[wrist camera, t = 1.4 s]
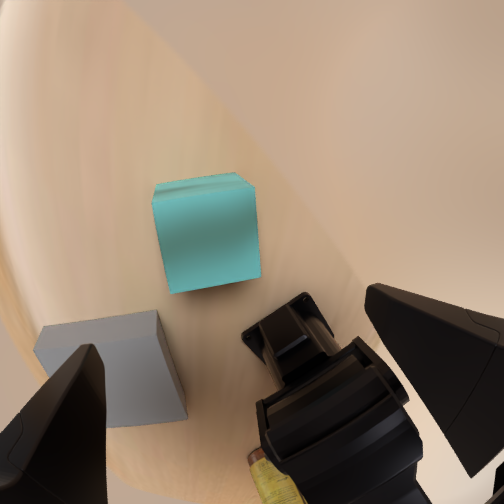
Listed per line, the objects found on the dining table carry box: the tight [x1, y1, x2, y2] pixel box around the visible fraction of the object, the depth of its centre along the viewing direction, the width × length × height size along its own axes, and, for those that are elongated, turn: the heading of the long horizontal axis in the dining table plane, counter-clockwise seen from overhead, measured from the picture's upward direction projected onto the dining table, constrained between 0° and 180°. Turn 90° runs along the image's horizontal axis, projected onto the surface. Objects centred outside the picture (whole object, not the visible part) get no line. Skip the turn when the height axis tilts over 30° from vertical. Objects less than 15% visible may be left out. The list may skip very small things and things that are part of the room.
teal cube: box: [152, 172, 261, 294], centre depth 17 cm, size 5×5×5 cm
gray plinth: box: [33, 310, 188, 428], centre depth 21 cm, size 10×10×3 cm
